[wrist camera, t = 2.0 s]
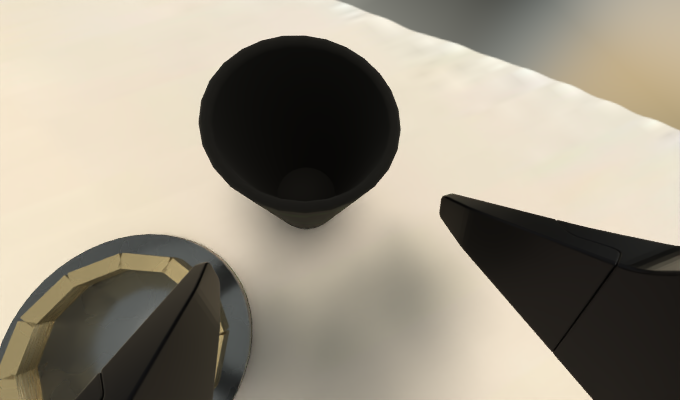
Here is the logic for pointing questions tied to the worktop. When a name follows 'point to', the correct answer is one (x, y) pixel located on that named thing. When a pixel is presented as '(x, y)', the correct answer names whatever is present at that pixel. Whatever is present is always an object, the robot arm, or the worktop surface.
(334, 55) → the cup
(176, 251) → the flange plate
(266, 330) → the worktop surface
